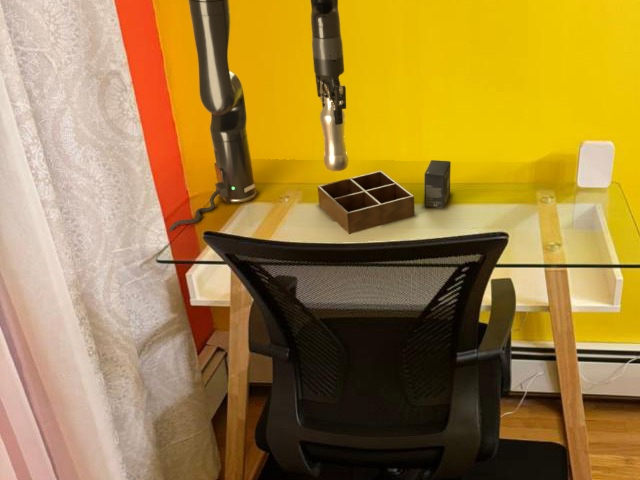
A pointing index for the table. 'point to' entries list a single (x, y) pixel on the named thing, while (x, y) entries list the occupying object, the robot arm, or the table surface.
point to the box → (437, 184)
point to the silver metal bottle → (333, 139)
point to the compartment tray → (366, 201)
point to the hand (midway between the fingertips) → (333, 119)
